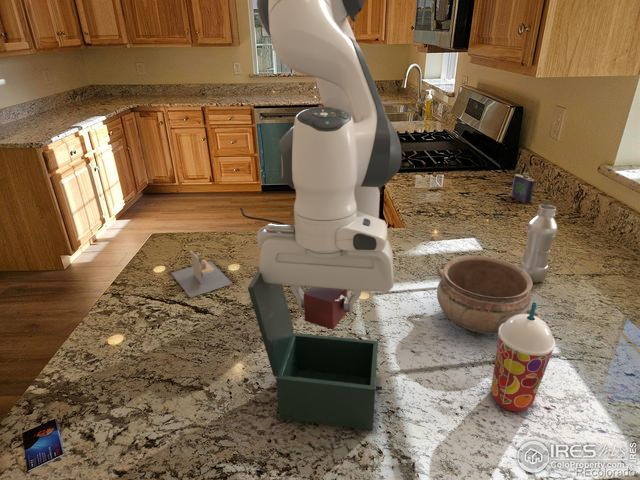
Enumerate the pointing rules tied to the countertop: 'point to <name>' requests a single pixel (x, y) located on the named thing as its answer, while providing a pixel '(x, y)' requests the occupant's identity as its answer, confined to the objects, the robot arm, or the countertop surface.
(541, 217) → the plastic bottle
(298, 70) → the robot arm
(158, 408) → the countertop surface
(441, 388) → the countertop surface
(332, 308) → the block
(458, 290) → the cooking pot
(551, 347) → the smoothie
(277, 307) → the bin lid
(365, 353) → the bin
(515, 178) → the flask
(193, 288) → the architectural model
